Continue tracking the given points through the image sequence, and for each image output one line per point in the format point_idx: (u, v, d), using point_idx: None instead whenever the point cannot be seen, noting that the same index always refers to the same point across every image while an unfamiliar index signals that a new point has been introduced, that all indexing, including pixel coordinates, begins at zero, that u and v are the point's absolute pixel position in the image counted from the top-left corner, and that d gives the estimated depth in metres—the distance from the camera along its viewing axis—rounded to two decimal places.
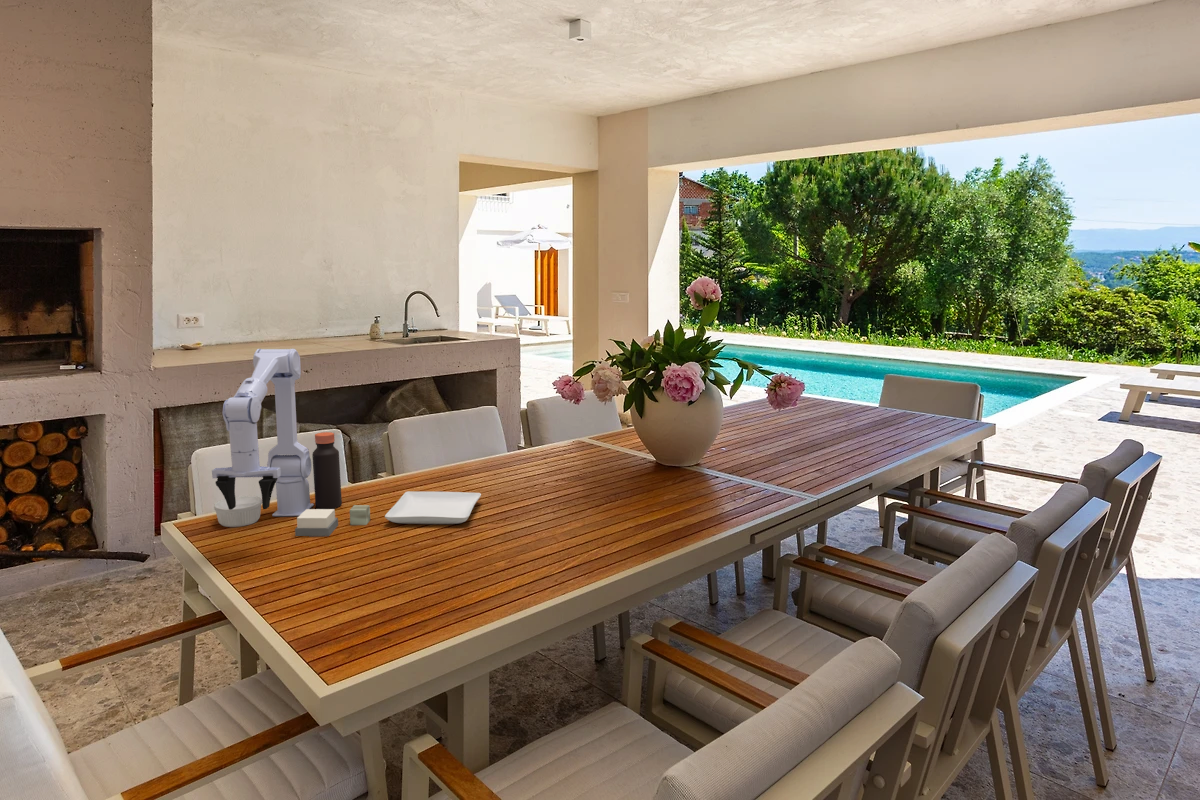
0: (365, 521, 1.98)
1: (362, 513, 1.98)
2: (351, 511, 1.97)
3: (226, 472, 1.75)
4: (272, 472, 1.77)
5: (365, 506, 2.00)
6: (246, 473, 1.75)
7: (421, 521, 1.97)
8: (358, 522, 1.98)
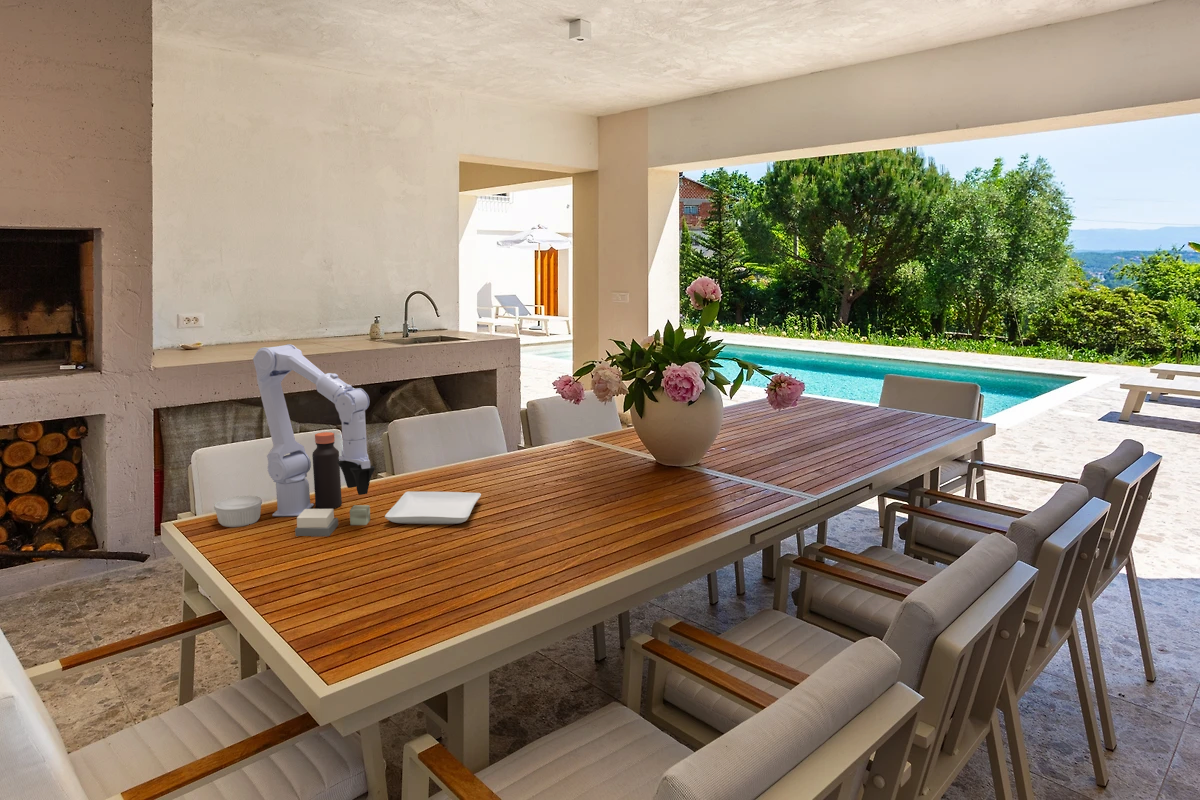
0: (365, 521, 1.98)
1: (362, 513, 1.98)
2: (351, 511, 1.97)
3: None
4: (360, 463, 1.91)
5: (365, 506, 2.00)
6: (345, 458, 1.94)
7: (421, 521, 1.97)
8: (358, 522, 1.98)
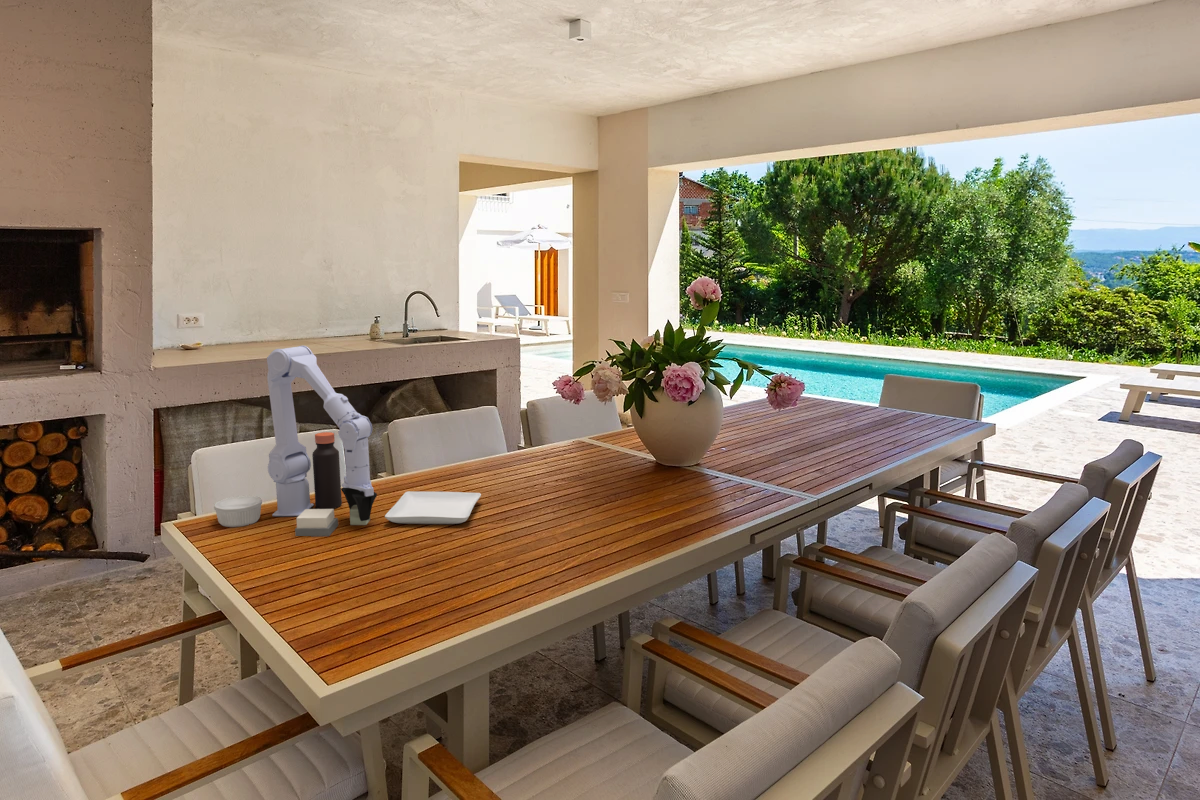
0: (365, 521, 1.98)
1: None
2: (351, 511, 1.97)
3: None
4: (363, 490, 1.93)
5: None
6: (349, 486, 1.95)
7: (421, 521, 1.97)
8: (358, 522, 1.98)
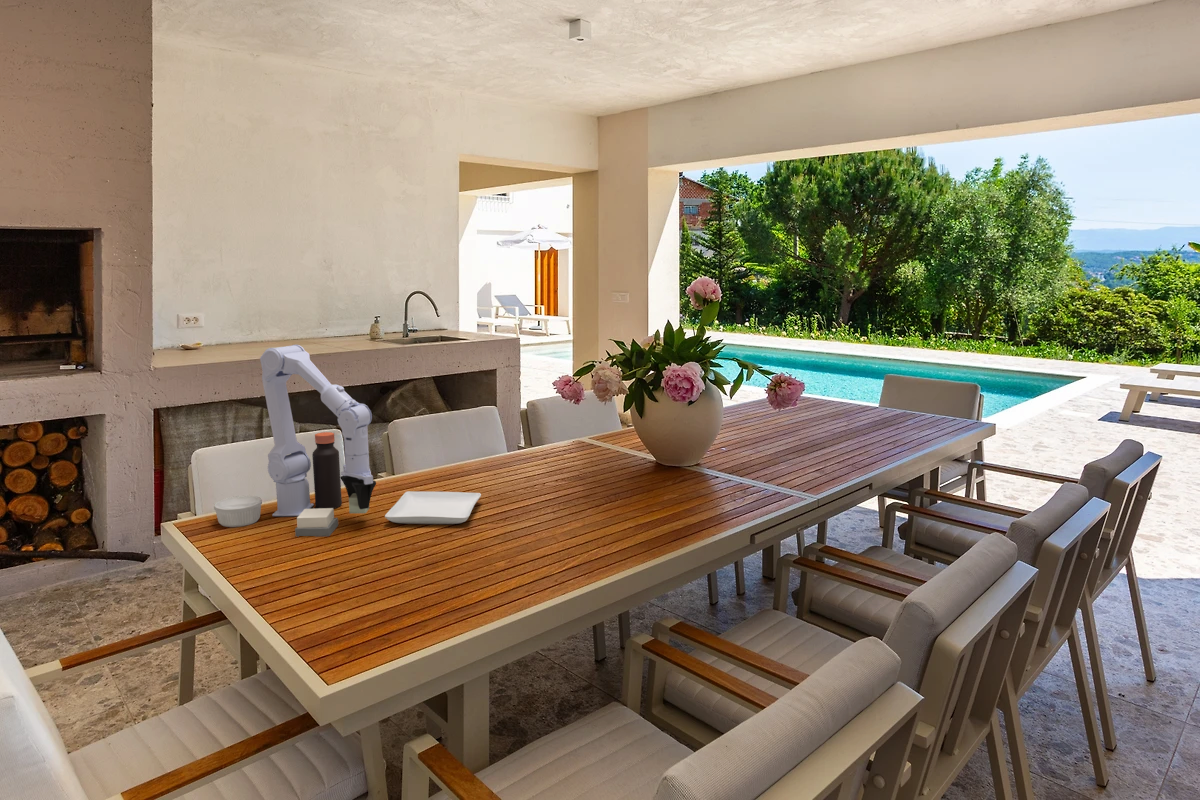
0: (364, 509, 1.98)
1: None
2: (350, 499, 1.97)
3: (344, 469, 1.99)
4: (363, 478, 1.92)
5: None
6: (348, 474, 1.95)
7: (421, 521, 1.97)
8: (357, 510, 1.97)
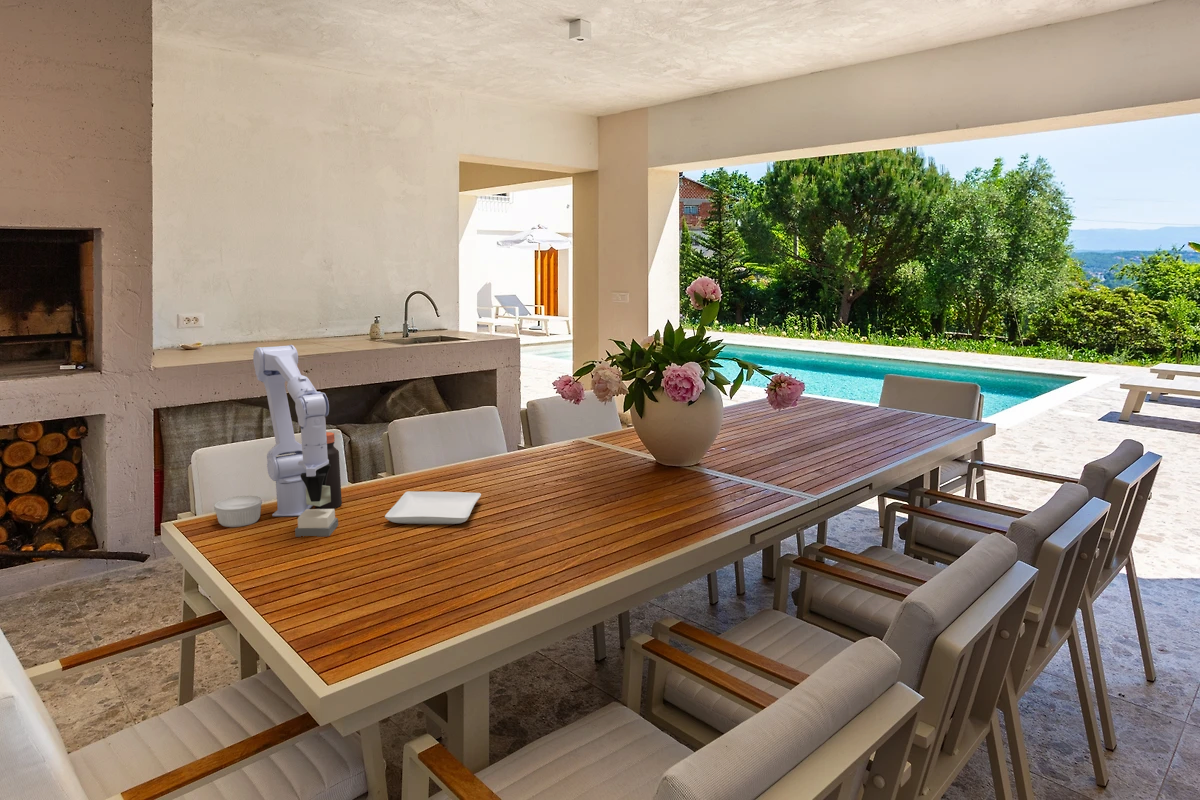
0: (318, 502, 1.90)
1: None
2: (307, 490, 1.91)
3: None
4: None
5: (324, 486, 1.93)
6: (302, 463, 1.89)
7: (421, 521, 1.97)
8: (313, 502, 1.91)
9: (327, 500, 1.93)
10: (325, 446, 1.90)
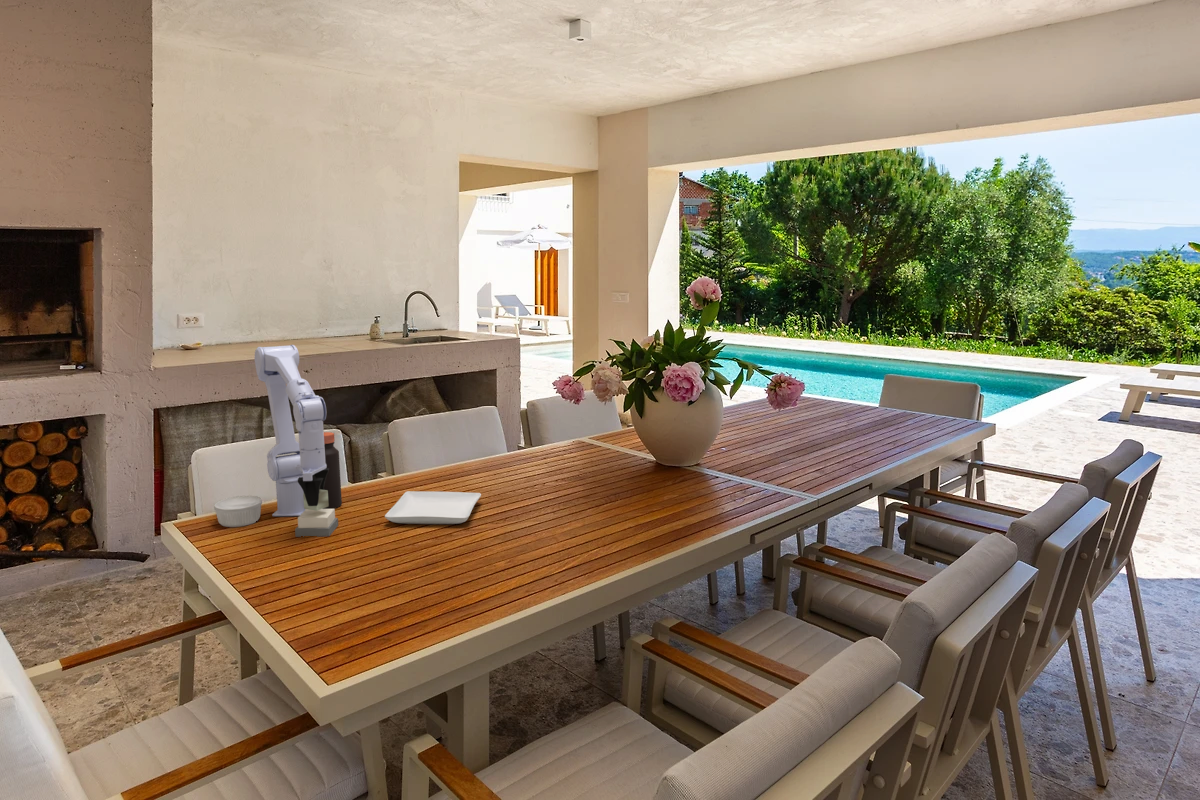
0: (316, 506, 1.90)
1: None
2: (304, 494, 1.91)
3: None
4: None
5: (322, 491, 1.93)
6: (299, 468, 1.89)
7: (421, 521, 1.97)
8: (310, 506, 1.91)
9: (325, 504, 1.92)
10: (323, 450, 1.90)
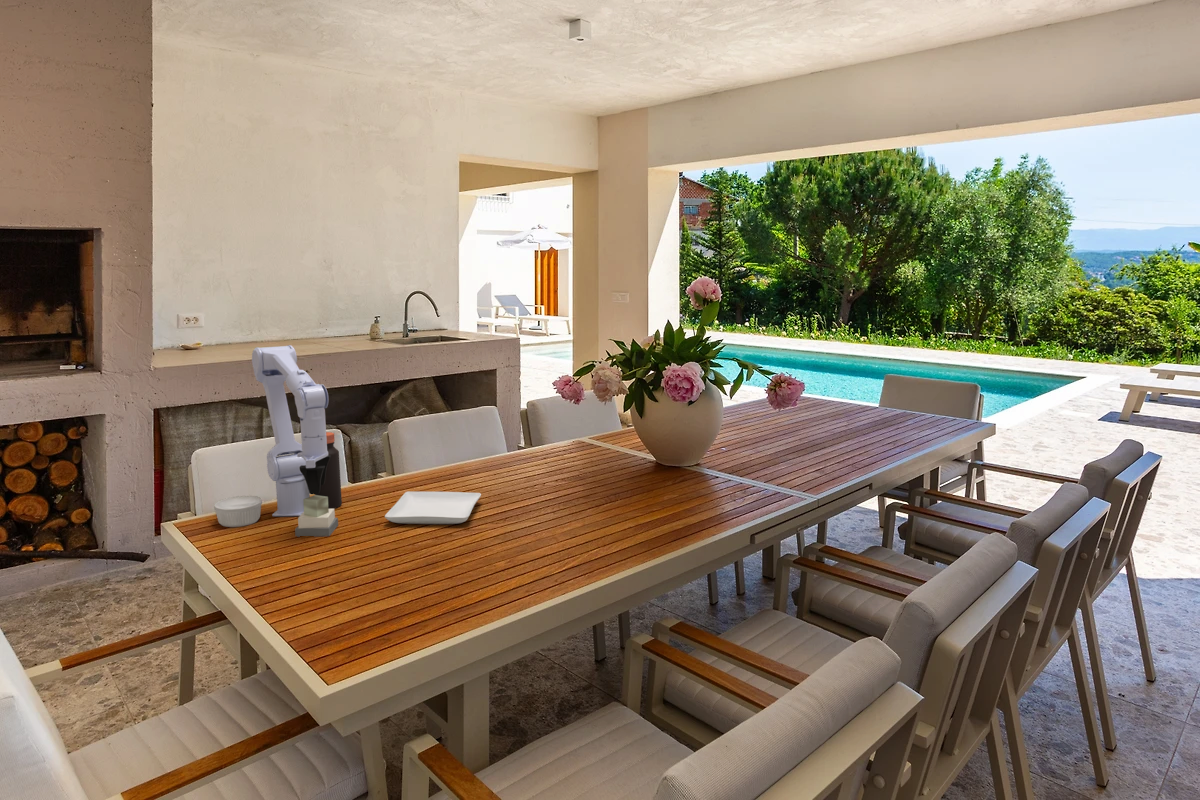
0: (316, 513, 1.90)
1: (313, 504, 1.90)
2: (304, 500, 1.91)
3: None
4: (306, 461, 1.85)
5: (322, 497, 1.93)
6: (301, 455, 1.89)
7: (421, 521, 1.97)
8: (310, 513, 1.91)
9: (325, 511, 1.93)
10: (324, 438, 1.90)
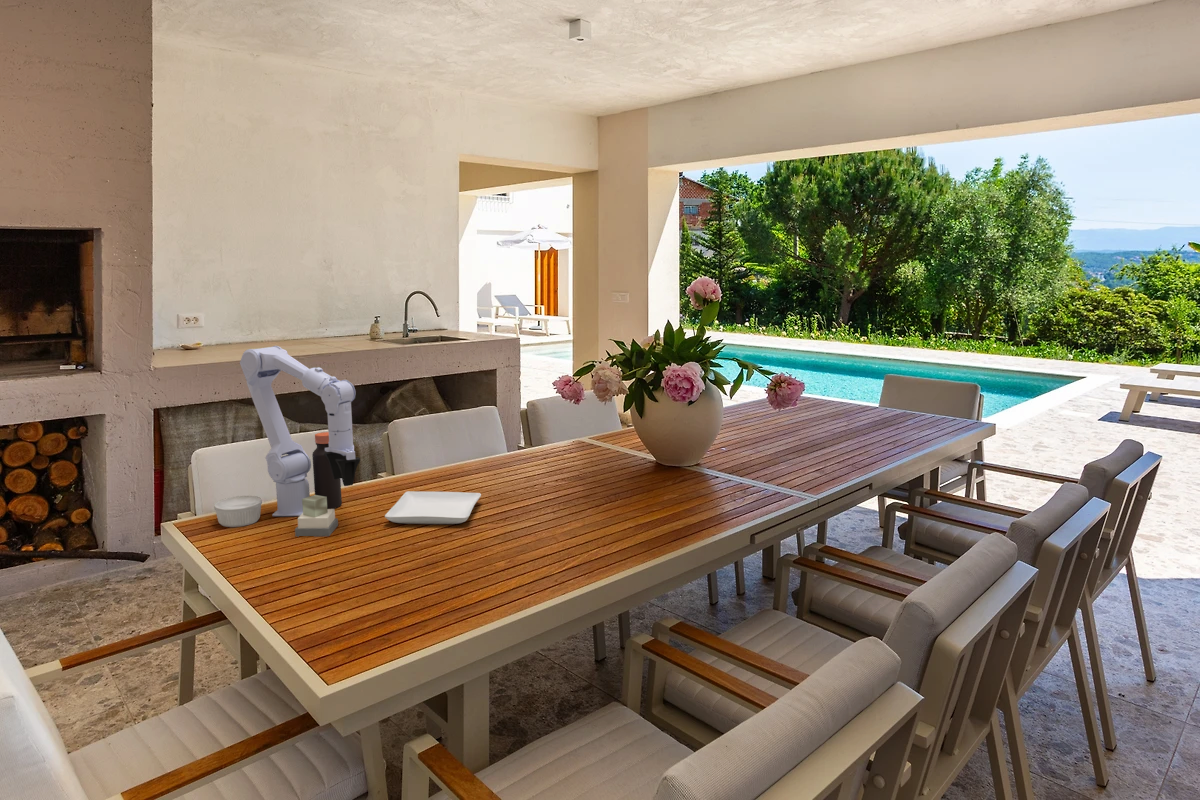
0: (314, 512, 1.90)
1: (311, 504, 1.90)
2: (303, 500, 1.91)
3: None
4: (345, 454, 1.92)
5: (321, 497, 1.93)
6: (331, 450, 1.95)
7: (421, 521, 1.97)
8: (309, 512, 1.91)
9: (323, 511, 1.93)
10: (352, 431, 1.98)
